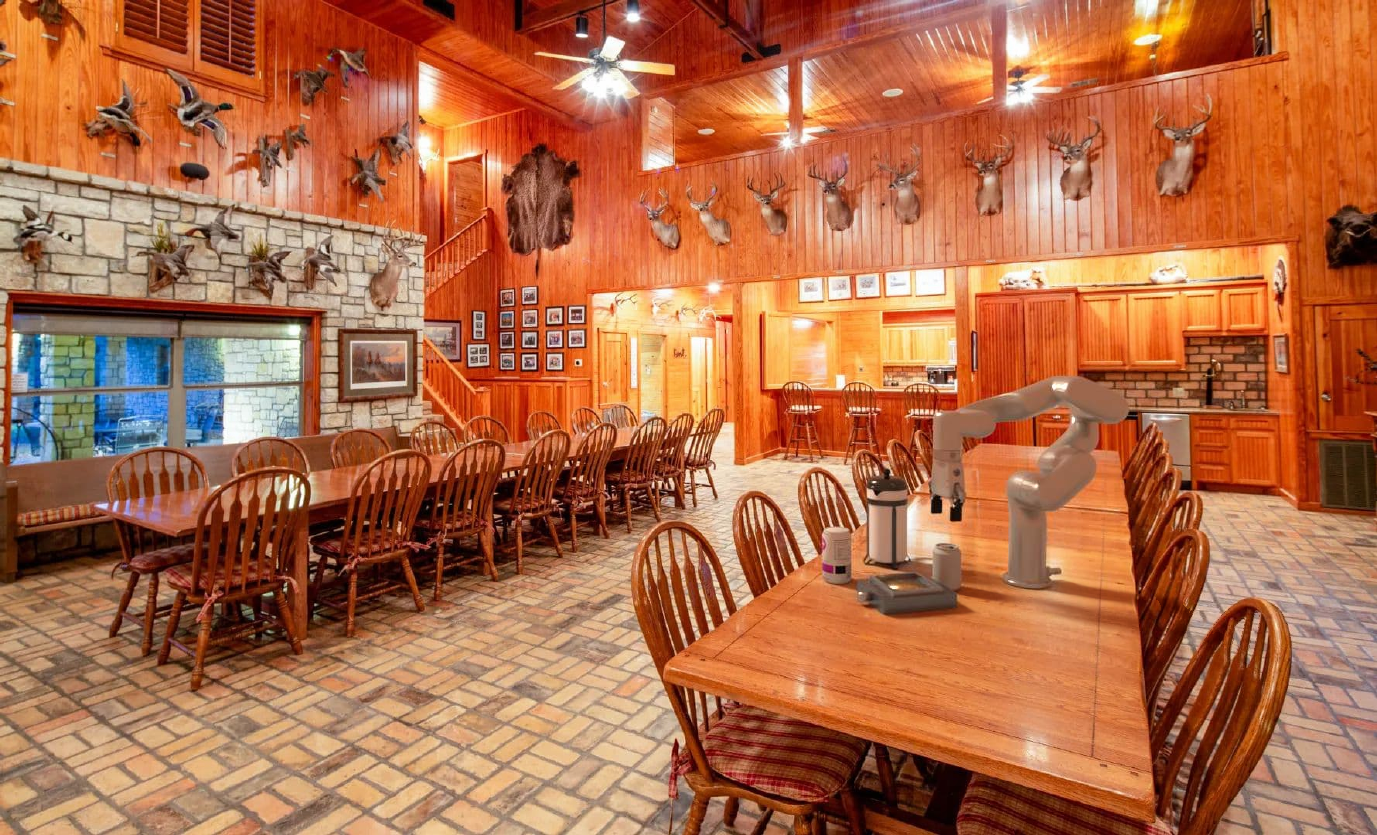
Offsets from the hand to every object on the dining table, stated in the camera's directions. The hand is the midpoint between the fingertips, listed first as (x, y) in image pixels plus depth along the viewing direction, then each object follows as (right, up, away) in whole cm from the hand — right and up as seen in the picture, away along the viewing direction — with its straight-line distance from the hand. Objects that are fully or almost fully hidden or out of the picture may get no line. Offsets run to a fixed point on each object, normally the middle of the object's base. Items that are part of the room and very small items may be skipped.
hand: (945, 517), depth 186 cm
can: (+1, -20, +2) cm, 20 cm away
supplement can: (-28, -20, +10) cm, 36 cm away
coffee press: (-8, -18, +27) cm, 33 cm away
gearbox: (-15, -21, -8) cm, 27 cm away
